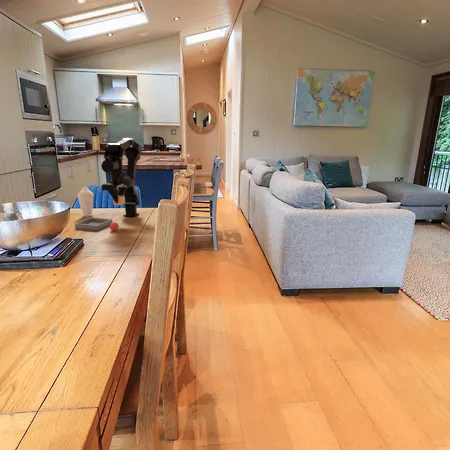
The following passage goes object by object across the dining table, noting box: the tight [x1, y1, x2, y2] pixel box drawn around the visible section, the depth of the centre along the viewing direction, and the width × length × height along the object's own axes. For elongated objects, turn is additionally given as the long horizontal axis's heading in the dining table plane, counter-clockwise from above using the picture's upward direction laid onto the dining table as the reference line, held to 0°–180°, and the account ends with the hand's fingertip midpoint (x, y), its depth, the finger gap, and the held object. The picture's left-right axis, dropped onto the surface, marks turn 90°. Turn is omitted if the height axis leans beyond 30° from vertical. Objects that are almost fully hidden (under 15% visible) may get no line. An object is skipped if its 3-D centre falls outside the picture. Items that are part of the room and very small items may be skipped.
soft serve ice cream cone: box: [76, 186, 95, 218], centre depth 168 cm, size 8×8×16 cm
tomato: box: [109, 221, 120, 232], centre depth 145 cm, size 4×4×4 cm
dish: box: [74, 216, 113, 232], centre depth 151 cm, size 12×12×2 cm
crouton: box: [112, 195, 125, 206], centre depth 154 cm, size 4×4×4 cm
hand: (119, 202), depth 154 cm, fingers closed on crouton, 4 cm apart
